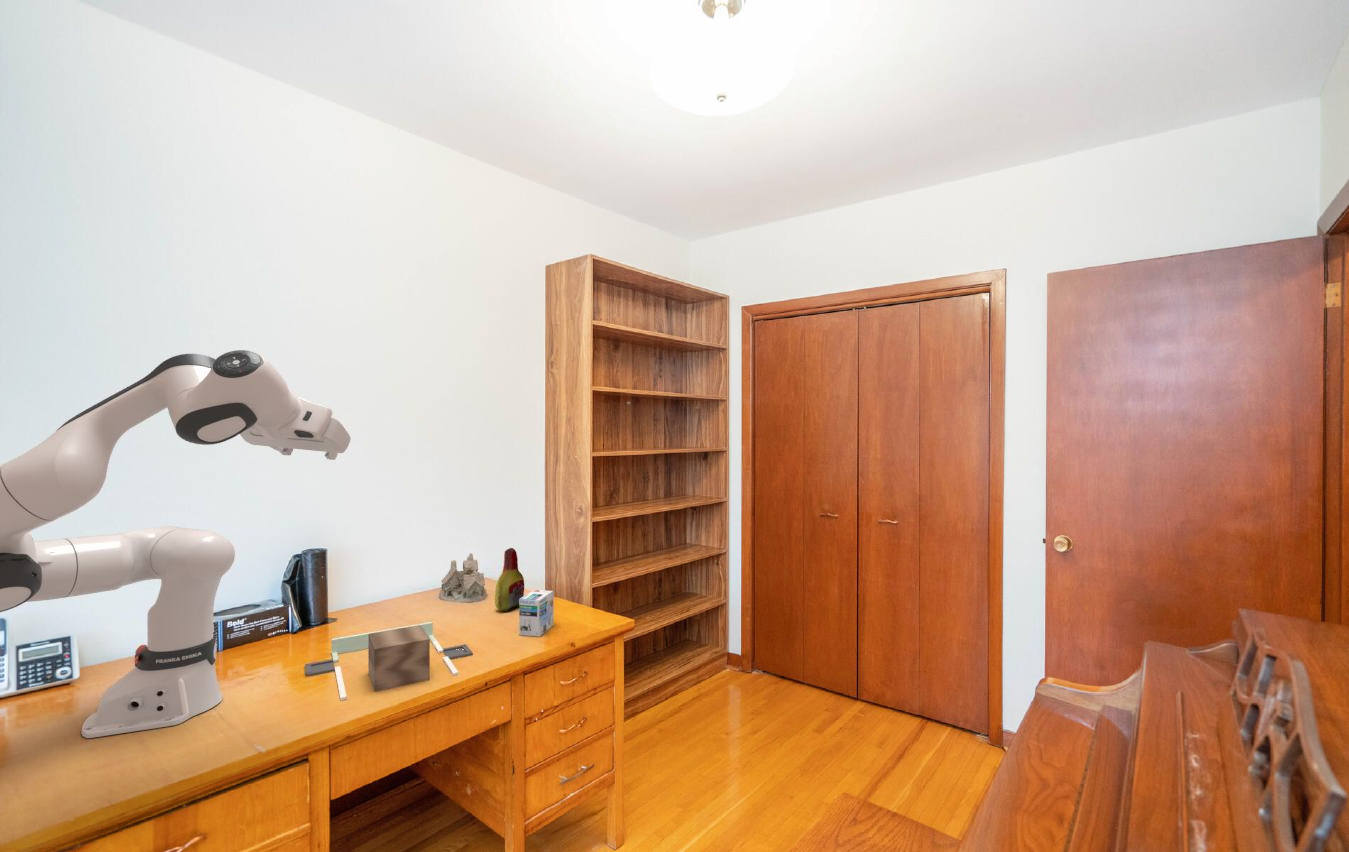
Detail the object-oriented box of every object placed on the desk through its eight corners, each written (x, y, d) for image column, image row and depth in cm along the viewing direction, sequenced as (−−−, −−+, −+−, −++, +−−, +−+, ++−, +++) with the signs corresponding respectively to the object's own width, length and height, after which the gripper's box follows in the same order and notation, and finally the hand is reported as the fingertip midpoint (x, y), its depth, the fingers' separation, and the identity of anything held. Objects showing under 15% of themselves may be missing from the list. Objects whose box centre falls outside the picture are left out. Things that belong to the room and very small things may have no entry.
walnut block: (374, 692, 138) (374, 649, 137) (368, 674, 148) (368, 633, 148) (429, 680, 144) (429, 638, 144) (420, 663, 154) (420, 624, 154)
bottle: (516, 602, 206) (516, 544, 206) (530, 605, 203) (530, 546, 203) (490, 611, 196) (490, 550, 196) (504, 614, 193) (504, 553, 193)
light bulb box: (539, 637, 173) (539, 600, 173) (518, 635, 174) (518, 598, 174) (554, 625, 183) (554, 590, 183) (534, 623, 184) (534, 588, 184)
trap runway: (307, 707, 130) (307, 689, 130) (304, 658, 157) (304, 643, 157) (483, 668, 150) (483, 653, 150) (454, 631, 177) (454, 617, 177)
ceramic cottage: (439, 592, 217) (440, 552, 216) (486, 590, 222) (488, 551, 222) (436, 608, 202) (438, 564, 202) (487, 605, 208) (488, 563, 207)
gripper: (217, 424, 113) (254, 462, 124) (325, 434, 113) (352, 472, 125) (233, 398, 117) (268, 437, 128) (338, 408, 117) (363, 446, 128)
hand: (310, 454), depth 126 cm, fingers open, 8 cm apart
